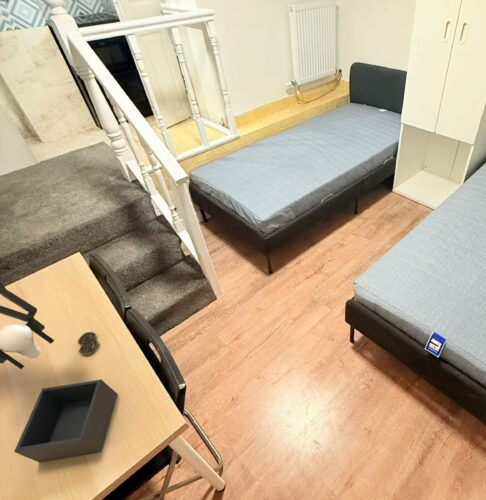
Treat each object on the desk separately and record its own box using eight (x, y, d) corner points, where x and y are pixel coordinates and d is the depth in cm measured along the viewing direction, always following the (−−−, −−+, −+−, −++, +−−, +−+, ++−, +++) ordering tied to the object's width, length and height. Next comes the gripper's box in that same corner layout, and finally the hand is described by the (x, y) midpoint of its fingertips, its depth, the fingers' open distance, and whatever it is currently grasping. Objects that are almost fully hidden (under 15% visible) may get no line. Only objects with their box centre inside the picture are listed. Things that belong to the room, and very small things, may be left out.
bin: (39, 462, 75) (13, 451, 69) (62, 402, 85) (42, 388, 79) (101, 452, 76) (81, 440, 70) (117, 393, 86) (101, 379, 80)
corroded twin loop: (96, 330, 100) (94, 328, 99) (101, 349, 95) (99, 348, 94) (77, 339, 98) (75, 337, 97) (82, 359, 93) (80, 357, 92)
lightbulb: (48, 339, 81) (19, 313, 74) (54, 356, 78) (24, 330, 70) (19, 354, 79) (-15, 329, 71) (24, 373, 75) (-11, 348, 68)
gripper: (-128, 317, 60) (-9, 393, 66) (-14, 249, 72) (77, 318, 78) (-114, 324, 65) (-6, 393, 71) (-11, 259, 77) (74, 323, 84)
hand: (37, 354), depth 75 cm, fingers closed on lightbulb, 6 cm apart
